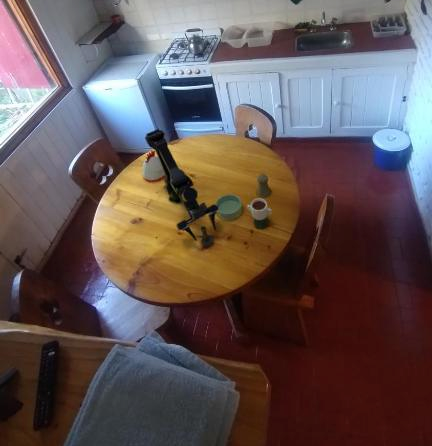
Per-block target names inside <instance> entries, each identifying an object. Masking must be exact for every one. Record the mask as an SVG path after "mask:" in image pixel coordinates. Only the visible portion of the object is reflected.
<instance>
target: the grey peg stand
mask: <svg viewBox="0 0 432 446" xmlns="http://www.w3.org/2000/svg"><path fill="white" fill-rule="evenodd" d="M200 232H201V234H202V236H201V237H200V243H201V245H202V247H204V248H210V247H211V246H212V245H213V244H214V240H213V237H212V235H211V234H209V233H208V230H207V227H206V226H205V225H204V226H201V227H200Z"/></svg>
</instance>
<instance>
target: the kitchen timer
mask: <svg viewBox="0 0 432 446" xmlns="http://www.w3.org/2000/svg"><path fill="white" fill-rule="evenodd" d="M141 167H142V176H143V179H144V181H146V182H148V183H157V182H160V181H162V180H165V173H164V171H163V168H162V166H161V163H160V161H159V158H158V156H157V155H156V151H155V150H150V152H148V153H146V156H145V159H144V161H143V163H142V164H141Z"/></svg>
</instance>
